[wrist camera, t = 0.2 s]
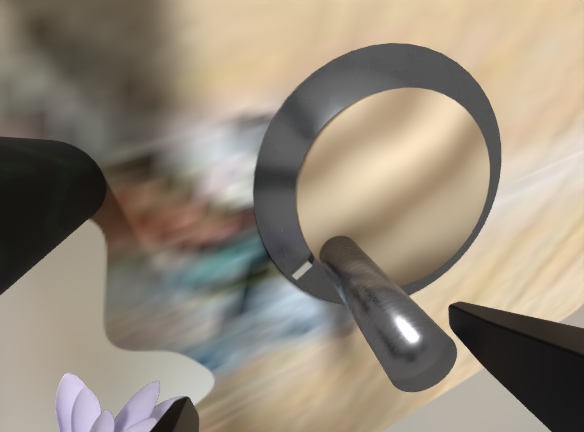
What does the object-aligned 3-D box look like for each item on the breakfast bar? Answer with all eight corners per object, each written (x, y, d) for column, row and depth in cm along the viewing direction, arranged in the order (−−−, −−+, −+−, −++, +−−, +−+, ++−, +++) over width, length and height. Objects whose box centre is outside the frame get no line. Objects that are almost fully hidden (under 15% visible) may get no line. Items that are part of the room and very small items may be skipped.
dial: (252, 193, 20) (268, 279, 9) (411, 40, 19) (667, -87, 7) (370, 309, 25) (475, 454, 14) (501, 194, 24) (730, 254, 13)
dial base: (192, 189, 20) (190, 192, 19) (412, -28, 18) (421, -36, 17) (359, 337, 27) (363, 345, 26) (528, 191, 26) (539, 194, 25)
